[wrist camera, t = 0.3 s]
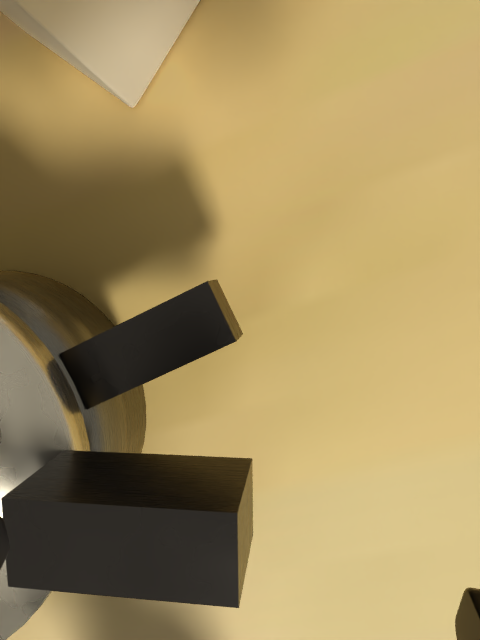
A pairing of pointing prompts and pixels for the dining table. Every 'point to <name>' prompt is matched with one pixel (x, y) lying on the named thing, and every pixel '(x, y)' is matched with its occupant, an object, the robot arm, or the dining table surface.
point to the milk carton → (106, 36)
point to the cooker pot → (118, 348)
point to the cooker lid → (106, 502)
